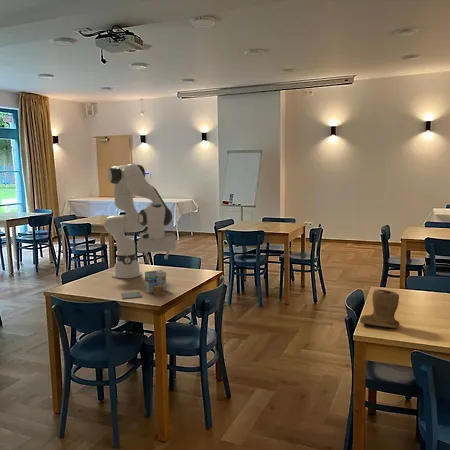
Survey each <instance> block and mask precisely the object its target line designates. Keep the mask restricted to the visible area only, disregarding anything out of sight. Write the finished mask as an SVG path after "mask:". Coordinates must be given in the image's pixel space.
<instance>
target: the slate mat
mask: <svg viewBox="0 0 450 450" xmlns="http://www.w3.org/2000/svg"><path fill="white" fill-rule="evenodd" d="M120 295H121V297H122V298H121V299H122V300H127V299H128V300H129V299H139V298H143V295H142V294H141V291H132V292H130V291H129V292H121V293H120Z"/></svg>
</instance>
